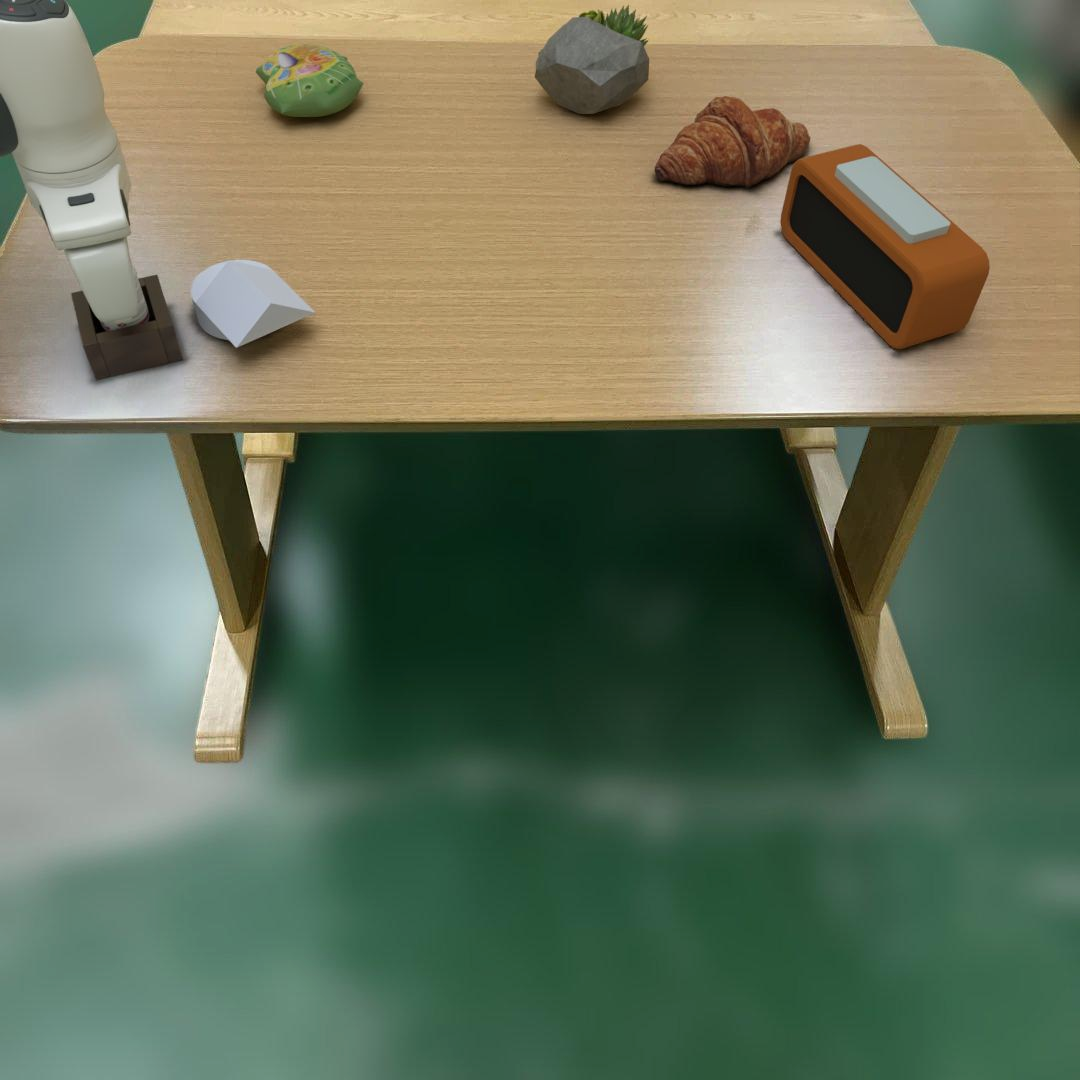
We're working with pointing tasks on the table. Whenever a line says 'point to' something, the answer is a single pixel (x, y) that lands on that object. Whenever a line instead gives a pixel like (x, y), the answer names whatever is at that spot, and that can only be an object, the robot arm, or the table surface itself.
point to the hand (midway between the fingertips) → (117, 299)
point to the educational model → (308, 81)
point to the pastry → (732, 146)
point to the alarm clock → (883, 246)
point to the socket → (129, 336)
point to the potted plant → (594, 61)
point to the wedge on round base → (244, 301)
